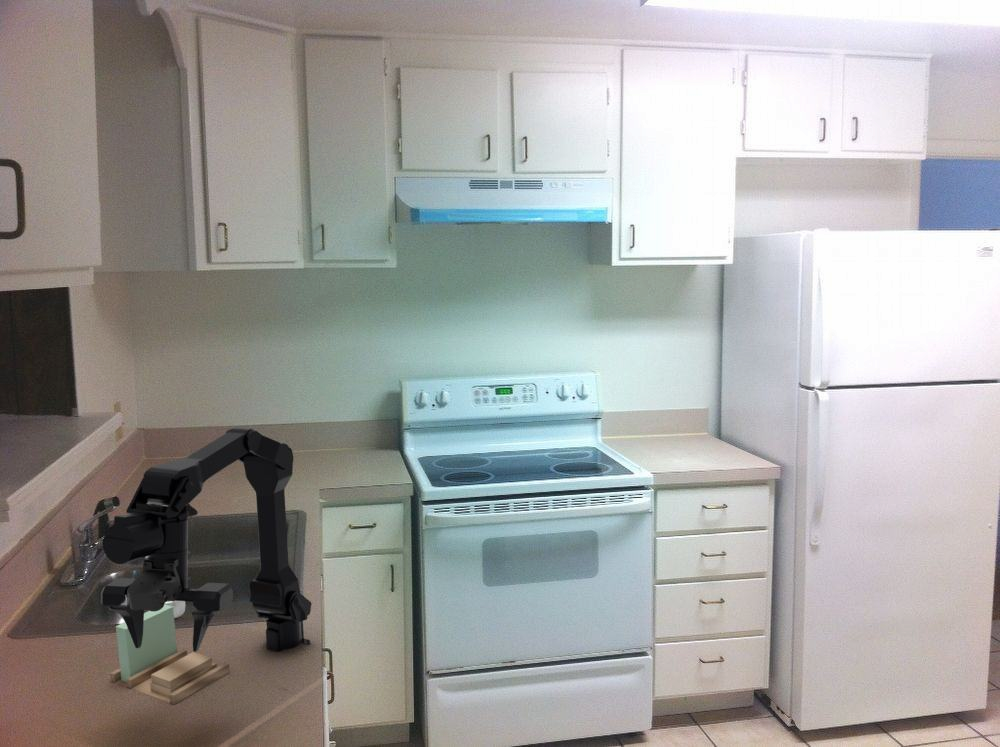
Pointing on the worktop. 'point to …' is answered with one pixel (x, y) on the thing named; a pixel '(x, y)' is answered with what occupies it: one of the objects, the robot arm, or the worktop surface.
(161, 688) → the block
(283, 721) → the worktop surface
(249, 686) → the worktop surface
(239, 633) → the worktop surface
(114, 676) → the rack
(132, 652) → the pale green square slab
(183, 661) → the offcut top
